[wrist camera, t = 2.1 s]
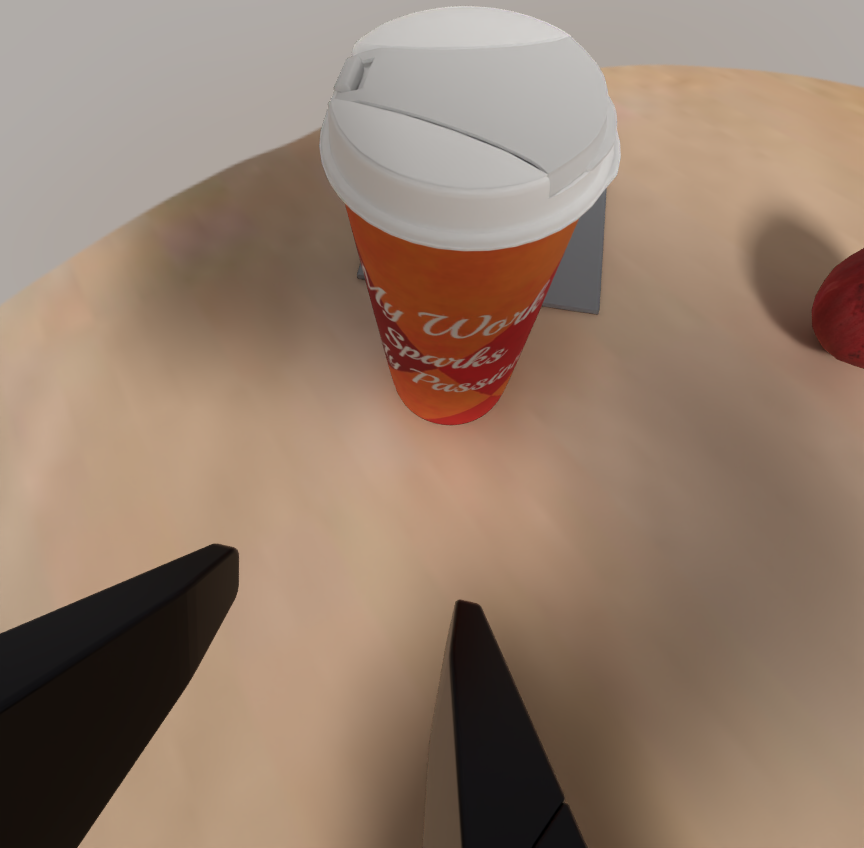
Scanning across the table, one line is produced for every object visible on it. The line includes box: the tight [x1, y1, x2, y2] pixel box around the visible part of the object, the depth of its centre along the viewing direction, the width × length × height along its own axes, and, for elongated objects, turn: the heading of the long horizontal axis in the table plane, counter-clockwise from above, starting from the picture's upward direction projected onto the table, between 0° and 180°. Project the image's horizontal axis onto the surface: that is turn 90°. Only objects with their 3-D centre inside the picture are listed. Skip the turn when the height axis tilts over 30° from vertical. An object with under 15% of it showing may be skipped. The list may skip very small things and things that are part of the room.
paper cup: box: [319, 6, 621, 425], centre depth 18 cm, size 8×8×14 cm
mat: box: [357, 189, 606, 314], centre depth 28 cm, size 13×10×1 cm
